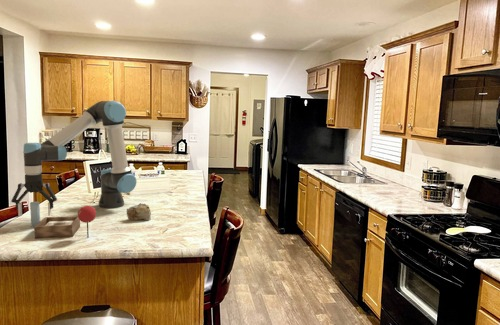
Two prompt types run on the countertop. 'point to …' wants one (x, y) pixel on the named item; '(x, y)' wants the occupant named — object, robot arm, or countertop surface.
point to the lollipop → (87, 215)
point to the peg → (35, 213)
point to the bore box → (57, 227)
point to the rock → (139, 212)
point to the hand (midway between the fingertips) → (35, 215)
